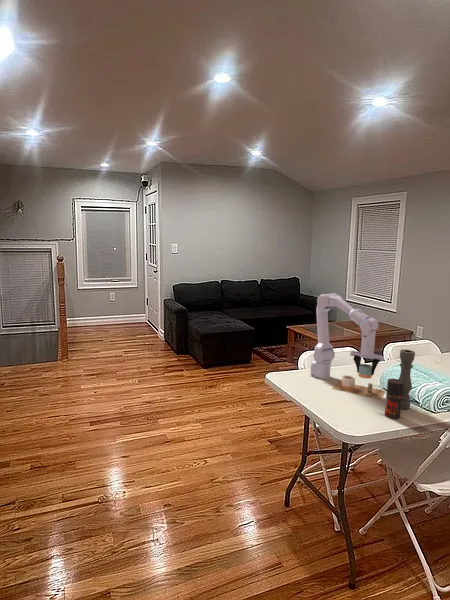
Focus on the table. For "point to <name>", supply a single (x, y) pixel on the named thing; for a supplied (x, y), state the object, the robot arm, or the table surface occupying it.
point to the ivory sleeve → (348, 382)
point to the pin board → (362, 390)
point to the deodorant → (394, 398)
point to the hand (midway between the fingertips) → (365, 373)
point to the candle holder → (406, 376)
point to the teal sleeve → (365, 371)
